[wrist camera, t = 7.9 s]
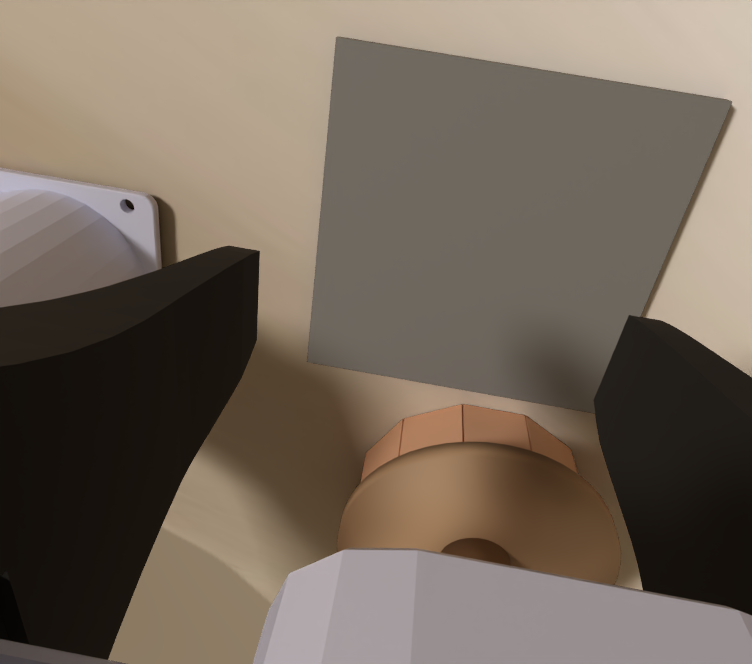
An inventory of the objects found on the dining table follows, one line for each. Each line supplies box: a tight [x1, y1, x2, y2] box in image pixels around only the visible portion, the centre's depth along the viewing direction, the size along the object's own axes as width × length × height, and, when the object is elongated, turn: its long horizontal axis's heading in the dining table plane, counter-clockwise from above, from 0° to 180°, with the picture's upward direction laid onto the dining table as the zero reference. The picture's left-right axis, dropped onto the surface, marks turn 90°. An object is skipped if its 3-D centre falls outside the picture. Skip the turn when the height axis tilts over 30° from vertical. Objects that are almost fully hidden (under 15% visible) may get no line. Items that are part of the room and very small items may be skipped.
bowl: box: [360, 404, 578, 483], centre depth 25 cm, size 10×10×4 cm
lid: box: [337, 442, 621, 585], centre depth 22 cm, size 11×11×4 cm
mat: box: [307, 37, 732, 413], centre depth 21 cm, size 12×12×1 cm
